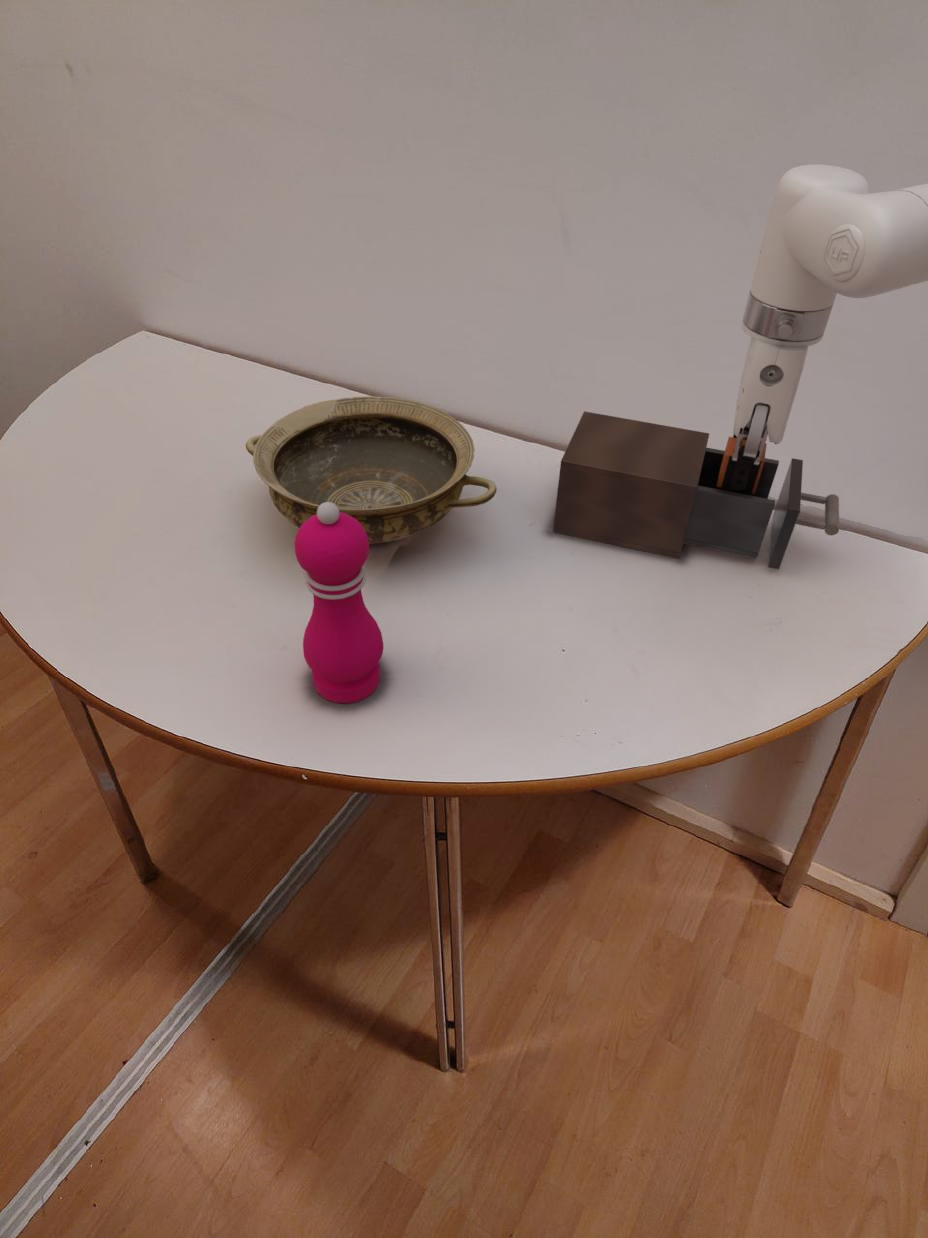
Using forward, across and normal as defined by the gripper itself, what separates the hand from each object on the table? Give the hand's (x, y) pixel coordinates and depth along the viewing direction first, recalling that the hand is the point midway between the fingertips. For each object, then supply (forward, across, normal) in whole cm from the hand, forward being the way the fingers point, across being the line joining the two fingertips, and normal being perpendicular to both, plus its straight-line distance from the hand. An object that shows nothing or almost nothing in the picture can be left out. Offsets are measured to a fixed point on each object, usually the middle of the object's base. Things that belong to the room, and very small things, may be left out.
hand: (738, 478), depth 90 cm
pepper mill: (+8, -35, +31) cm, 48 cm away
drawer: (+7, 0, -2) cm, 7 cm away
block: (0, 0, 0) cm, 0 cm away
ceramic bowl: (+8, -11, +39) cm, 42 cm away
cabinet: (+8, 0, +11) cm, 14 cm away
